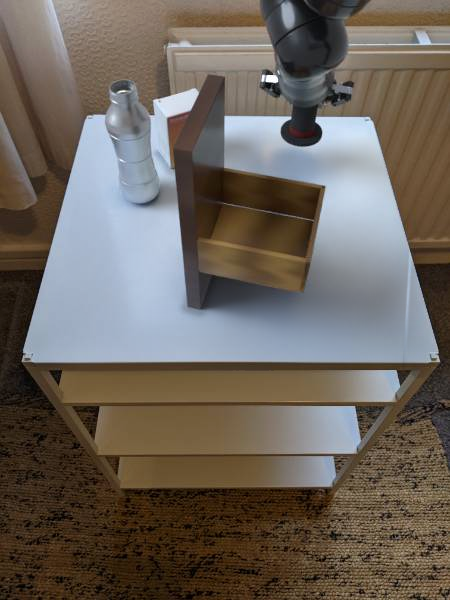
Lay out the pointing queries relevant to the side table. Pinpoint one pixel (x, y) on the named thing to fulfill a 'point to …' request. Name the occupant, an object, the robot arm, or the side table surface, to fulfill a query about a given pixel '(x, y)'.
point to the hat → (302, 127)
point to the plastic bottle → (132, 142)
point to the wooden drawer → (237, 210)
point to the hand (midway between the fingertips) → (306, 99)
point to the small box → (172, 120)
